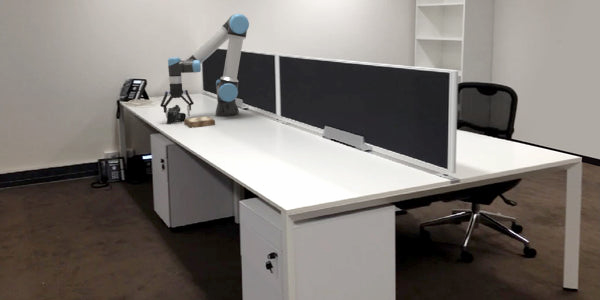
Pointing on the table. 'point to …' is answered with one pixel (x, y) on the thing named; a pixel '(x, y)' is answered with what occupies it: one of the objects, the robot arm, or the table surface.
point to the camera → (175, 115)
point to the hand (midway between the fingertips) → (178, 117)
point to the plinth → (199, 122)
